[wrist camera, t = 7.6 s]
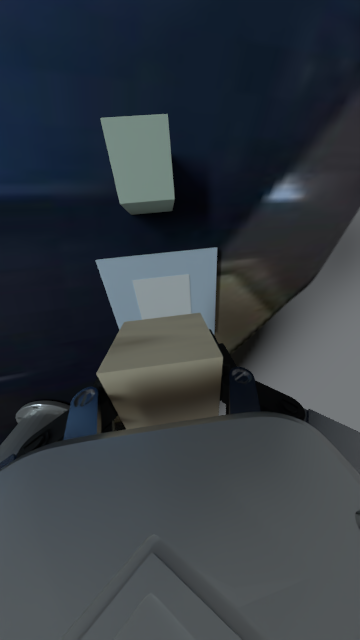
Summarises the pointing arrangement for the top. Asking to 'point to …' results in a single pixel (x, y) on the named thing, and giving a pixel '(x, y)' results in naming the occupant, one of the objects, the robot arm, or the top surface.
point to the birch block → (163, 371)
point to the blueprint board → (161, 285)
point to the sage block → (141, 162)
